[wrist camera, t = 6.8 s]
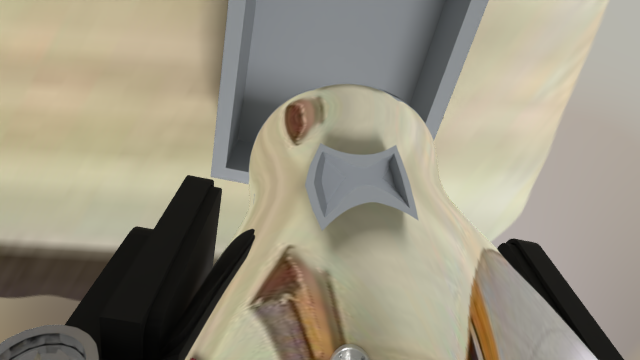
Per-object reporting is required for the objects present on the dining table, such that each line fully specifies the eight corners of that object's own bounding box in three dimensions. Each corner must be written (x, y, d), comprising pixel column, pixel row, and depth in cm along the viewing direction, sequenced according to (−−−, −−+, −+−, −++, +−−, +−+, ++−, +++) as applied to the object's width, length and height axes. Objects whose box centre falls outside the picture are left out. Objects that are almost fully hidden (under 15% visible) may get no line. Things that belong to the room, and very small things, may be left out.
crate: (256, -104, 27) (240, -116, 22) (472, -47, 28) (506, -45, 23) (227, 143, 35) (210, 176, 30) (393, 176, 37) (405, 214, 32)
